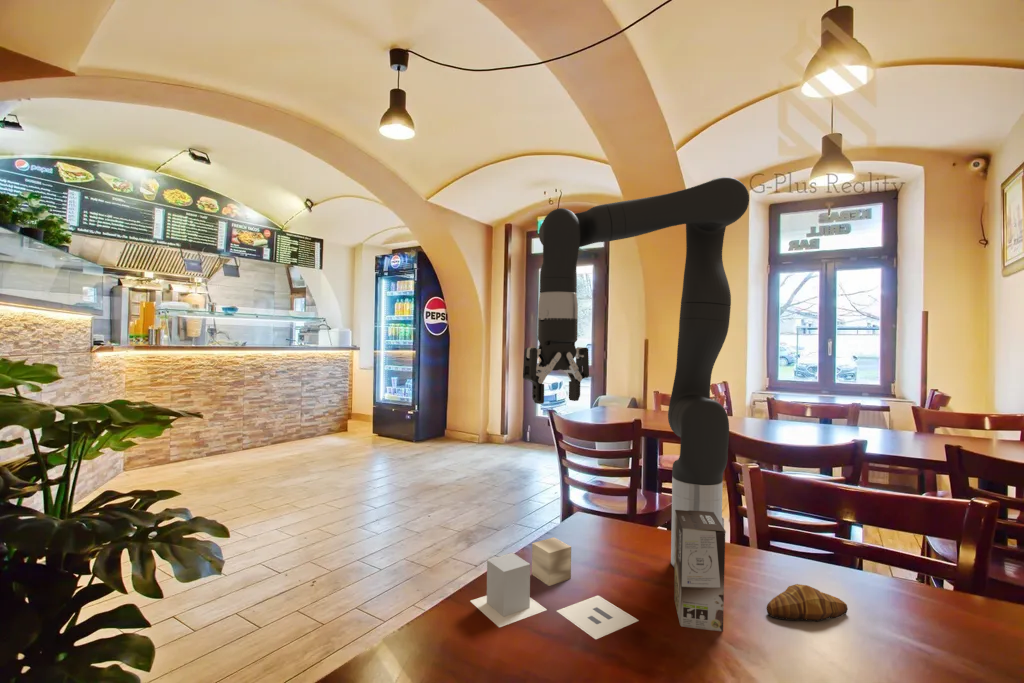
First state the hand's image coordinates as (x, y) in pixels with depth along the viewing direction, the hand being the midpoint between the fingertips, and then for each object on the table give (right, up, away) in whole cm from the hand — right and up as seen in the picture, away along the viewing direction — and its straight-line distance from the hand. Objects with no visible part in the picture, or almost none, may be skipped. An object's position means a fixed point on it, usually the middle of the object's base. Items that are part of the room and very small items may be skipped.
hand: (556, 401), depth 97 cm
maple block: (-1, -32, -5) cm, 33 cm away
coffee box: (+21, -33, -17) cm, 42 cm away
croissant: (+39, -33, -14) cm, 54 cm away
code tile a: (+5, -32, -18) cm, 37 cm away
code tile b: (-9, -32, -15) cm, 37 cm away
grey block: (-9, -31, -15) cm, 36 cm away
